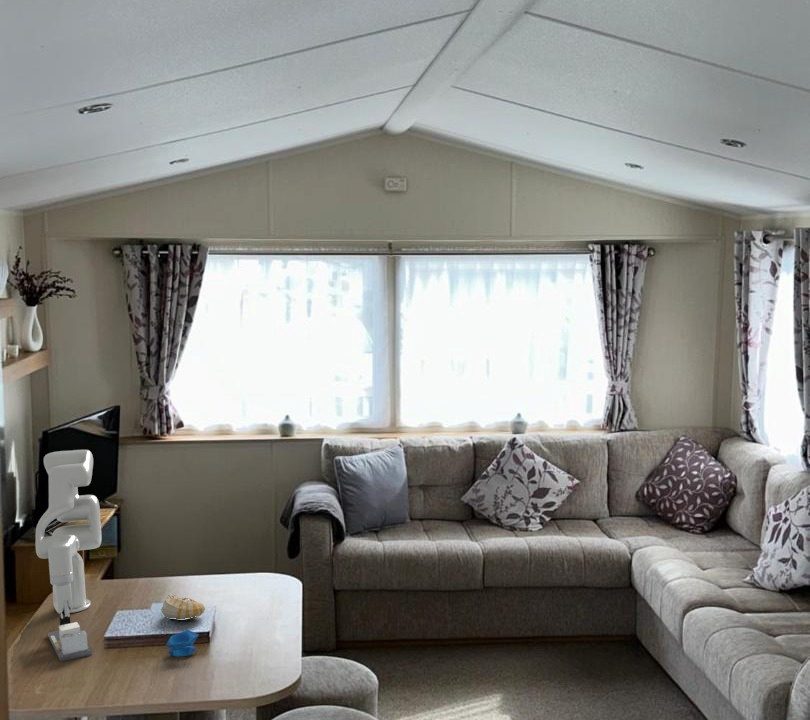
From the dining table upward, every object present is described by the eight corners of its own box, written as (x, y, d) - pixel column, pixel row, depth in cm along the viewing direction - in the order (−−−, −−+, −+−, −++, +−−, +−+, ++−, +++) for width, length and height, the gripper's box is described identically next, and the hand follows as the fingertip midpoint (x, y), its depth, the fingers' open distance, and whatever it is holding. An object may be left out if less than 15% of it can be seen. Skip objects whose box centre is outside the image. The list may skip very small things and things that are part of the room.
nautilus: (152, 612, 355) (192, 606, 362) (167, 629, 336) (209, 622, 343) (152, 591, 355) (192, 586, 362) (167, 606, 336) (208, 600, 343)
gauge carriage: (53, 641, 323) (52, 627, 323) (78, 635, 327) (76, 621, 327) (56, 646, 319) (55, 632, 318) (80, 640, 323) (79, 626, 322)
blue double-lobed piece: (162, 632, 318) (197, 621, 319) (170, 655, 320) (205, 645, 321) (160, 641, 311) (196, 630, 312) (167, 665, 312) (203, 654, 313)
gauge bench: (48, 636, 334) (46, 616, 333) (77, 630, 339) (76, 610, 338) (60, 661, 313) (59, 640, 312) (91, 654, 318) (90, 633, 317)
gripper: (46, 573, 333) (50, 623, 336) (54, 586, 320) (58, 638, 323) (68, 569, 337) (72, 618, 339) (77, 582, 324) (81, 633, 327)
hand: (65, 627), depth 331 cm, fingers closed
